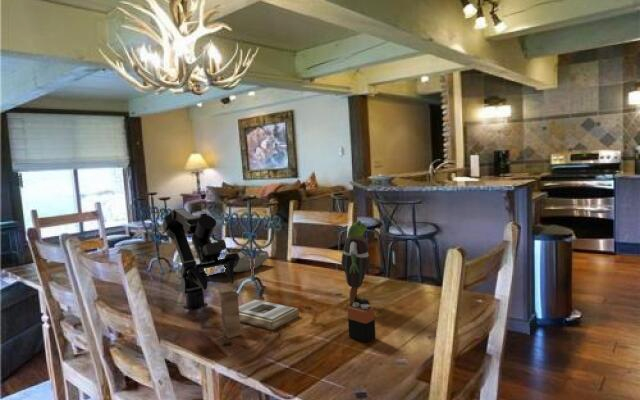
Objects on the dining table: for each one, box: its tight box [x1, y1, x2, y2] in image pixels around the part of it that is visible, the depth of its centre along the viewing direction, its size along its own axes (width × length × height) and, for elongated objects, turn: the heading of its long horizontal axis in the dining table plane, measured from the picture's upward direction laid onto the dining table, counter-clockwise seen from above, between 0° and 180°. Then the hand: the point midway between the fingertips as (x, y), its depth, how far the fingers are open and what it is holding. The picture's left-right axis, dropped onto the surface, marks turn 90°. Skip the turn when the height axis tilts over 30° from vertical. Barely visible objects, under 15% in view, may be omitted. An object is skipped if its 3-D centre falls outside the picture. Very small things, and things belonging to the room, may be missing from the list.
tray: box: [239, 299, 300, 331], centre depth 140 cm, size 20×13×3 cm, turn 54°
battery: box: [347, 302, 376, 343], centre depth 120 cm, size 4×7×10 cm, turn 45°
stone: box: [224, 251, 269, 274], centre depth 204 cm, size 33×9×20 cm
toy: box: [340, 220, 371, 307], centre depth 144 cm, size 25×10×30 cm, turn 168°
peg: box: [219, 290, 242, 339], centre depth 127 cm, size 4×4×13 cm
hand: (219, 286), depth 133 cm, fingers open, 9 cm apart
